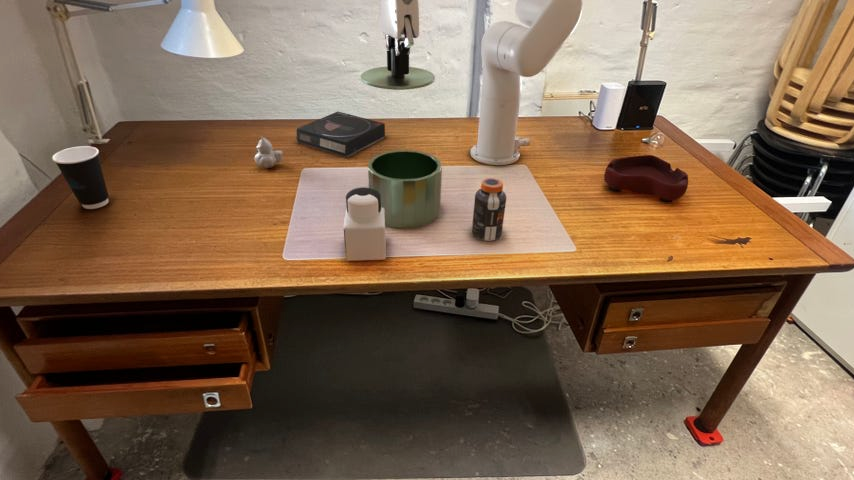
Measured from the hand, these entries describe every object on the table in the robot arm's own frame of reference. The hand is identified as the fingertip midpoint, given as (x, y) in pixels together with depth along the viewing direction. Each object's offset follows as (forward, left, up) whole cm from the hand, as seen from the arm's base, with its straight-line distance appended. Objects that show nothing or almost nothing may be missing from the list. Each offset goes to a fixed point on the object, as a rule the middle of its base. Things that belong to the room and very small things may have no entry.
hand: (398, 71), depth 107 cm
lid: (0, 0, -1) cm, 1 cm away
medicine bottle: (+18, +27, -24) cm, 40 cm away
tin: (+6, +16, -24) cm, 29 cm away
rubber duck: (+27, -17, -24) cm, 40 cm away
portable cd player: (+6, -26, -24) cm, 36 cm away
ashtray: (-50, +28, -24) cm, 62 cm away
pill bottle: (-5, +31, -24) cm, 40 cm away
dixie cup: (+64, -13, -24) cm, 69 cm away
